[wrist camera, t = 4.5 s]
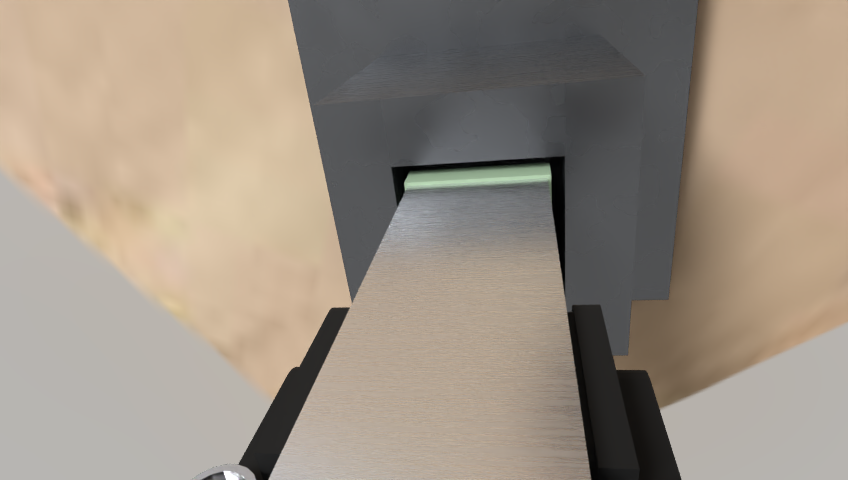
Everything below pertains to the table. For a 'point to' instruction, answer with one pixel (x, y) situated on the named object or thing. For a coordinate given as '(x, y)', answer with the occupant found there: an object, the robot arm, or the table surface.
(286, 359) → the table surface
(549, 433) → the bar
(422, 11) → the jack base
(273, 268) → the table surface
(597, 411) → the robot arm
